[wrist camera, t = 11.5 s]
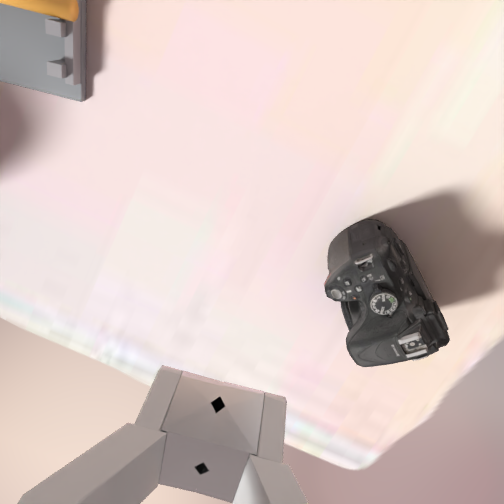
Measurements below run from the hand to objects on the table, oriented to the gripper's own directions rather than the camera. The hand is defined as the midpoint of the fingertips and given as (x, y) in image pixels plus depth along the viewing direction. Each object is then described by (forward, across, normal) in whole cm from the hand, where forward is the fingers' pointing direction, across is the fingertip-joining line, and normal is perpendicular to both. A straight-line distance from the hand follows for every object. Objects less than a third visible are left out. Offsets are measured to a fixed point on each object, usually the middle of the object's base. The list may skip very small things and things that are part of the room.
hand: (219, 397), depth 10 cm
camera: (+29, -13, +12) cm, 34 cm away
